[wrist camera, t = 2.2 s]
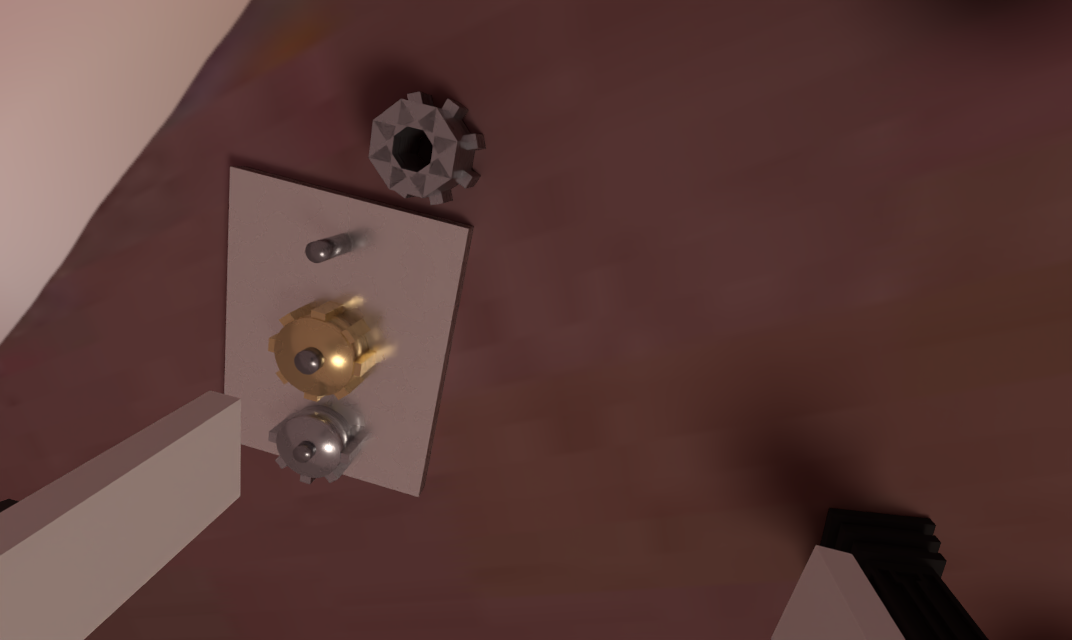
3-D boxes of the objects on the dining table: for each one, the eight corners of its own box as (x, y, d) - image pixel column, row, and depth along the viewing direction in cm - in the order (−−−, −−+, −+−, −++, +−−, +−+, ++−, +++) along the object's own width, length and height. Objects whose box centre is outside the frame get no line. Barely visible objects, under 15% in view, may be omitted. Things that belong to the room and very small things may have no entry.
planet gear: (396, 86, 38) (366, 76, 33) (492, 110, 38) (475, 103, 33) (383, 187, 41) (354, 191, 36) (474, 210, 40) (455, 218, 35)
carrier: (243, 166, 42) (190, 167, 37) (473, 226, 41) (453, 236, 35) (234, 430, 50) (190, 462, 45) (424, 487, 49) (401, 526, 44)
